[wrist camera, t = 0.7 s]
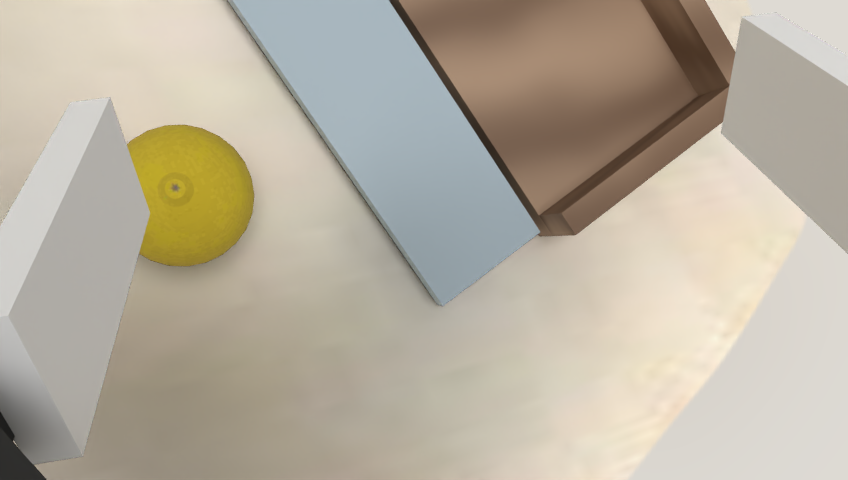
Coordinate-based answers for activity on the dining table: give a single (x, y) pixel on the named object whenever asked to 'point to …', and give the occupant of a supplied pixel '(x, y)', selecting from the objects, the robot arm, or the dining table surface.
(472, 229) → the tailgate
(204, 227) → the lemon
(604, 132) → the brown wooden tray
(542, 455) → the dining table surface
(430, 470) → the dining table surface
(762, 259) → the dining table surface
